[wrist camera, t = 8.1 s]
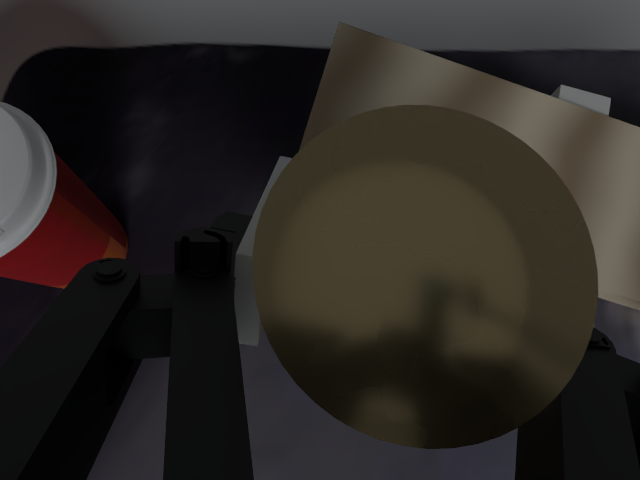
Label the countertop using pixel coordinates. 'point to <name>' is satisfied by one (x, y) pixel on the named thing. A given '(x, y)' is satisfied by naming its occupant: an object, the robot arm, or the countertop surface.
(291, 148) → the countertop surface
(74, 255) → the paper cup
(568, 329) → the olive round cylinder
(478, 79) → the beam
